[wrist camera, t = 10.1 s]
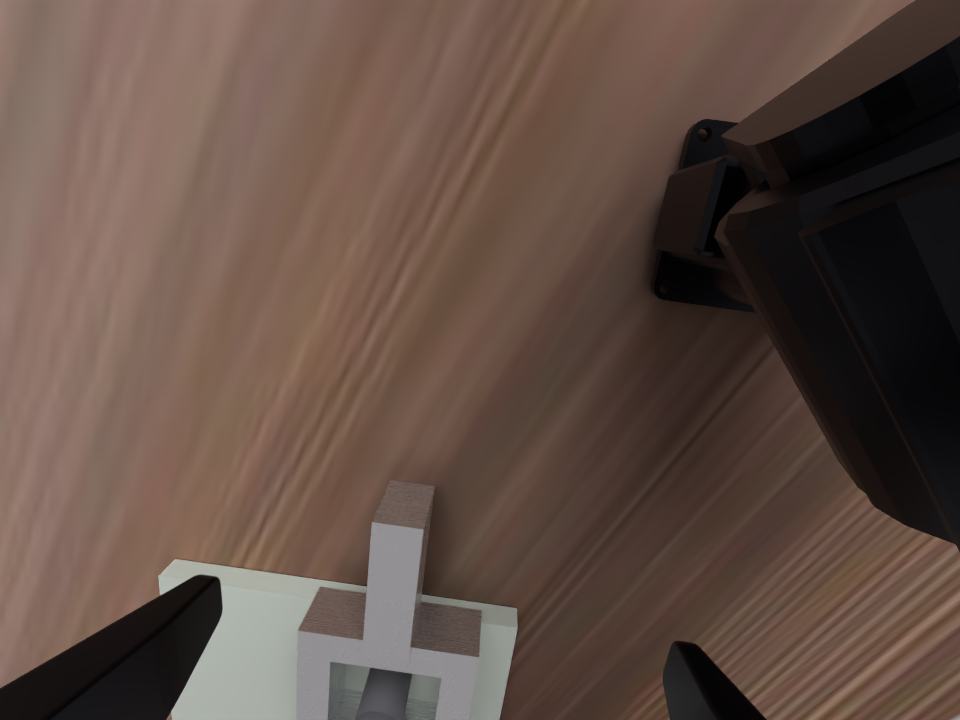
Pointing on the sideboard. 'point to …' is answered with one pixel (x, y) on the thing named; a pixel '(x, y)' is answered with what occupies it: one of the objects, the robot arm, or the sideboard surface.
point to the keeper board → (273, 652)
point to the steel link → (389, 623)
